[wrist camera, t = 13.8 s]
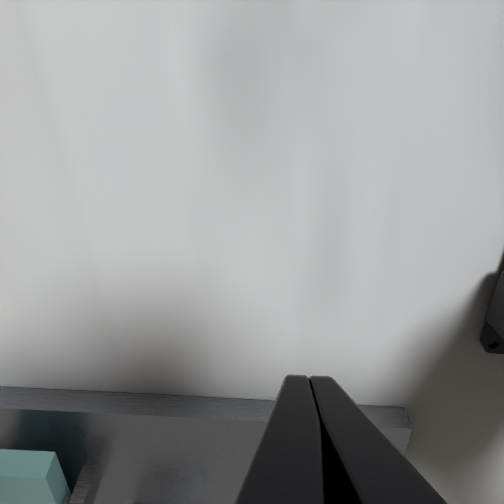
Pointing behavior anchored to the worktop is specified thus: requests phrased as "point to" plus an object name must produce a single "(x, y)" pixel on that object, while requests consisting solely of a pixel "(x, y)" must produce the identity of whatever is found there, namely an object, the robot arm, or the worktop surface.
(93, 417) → the panel
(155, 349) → the worktop surface
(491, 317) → the robot arm
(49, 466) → the block
